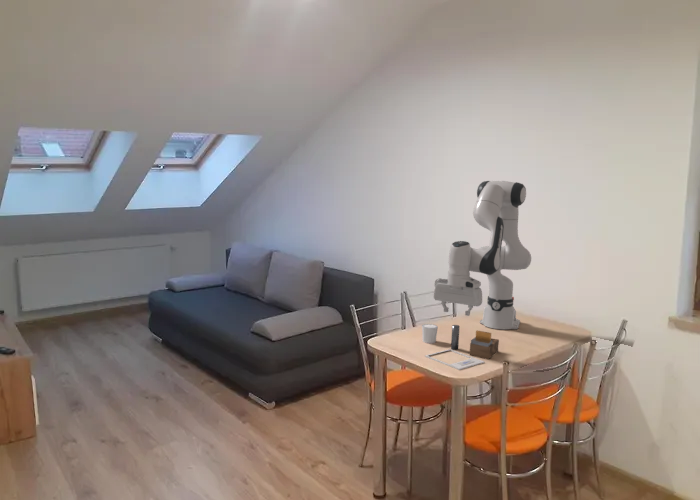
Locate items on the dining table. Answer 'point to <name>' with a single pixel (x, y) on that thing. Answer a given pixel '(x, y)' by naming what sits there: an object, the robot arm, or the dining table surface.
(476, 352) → the dock
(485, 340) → the bar
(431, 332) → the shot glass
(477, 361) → the photo frame
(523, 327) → the dining table surface
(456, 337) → the peg
